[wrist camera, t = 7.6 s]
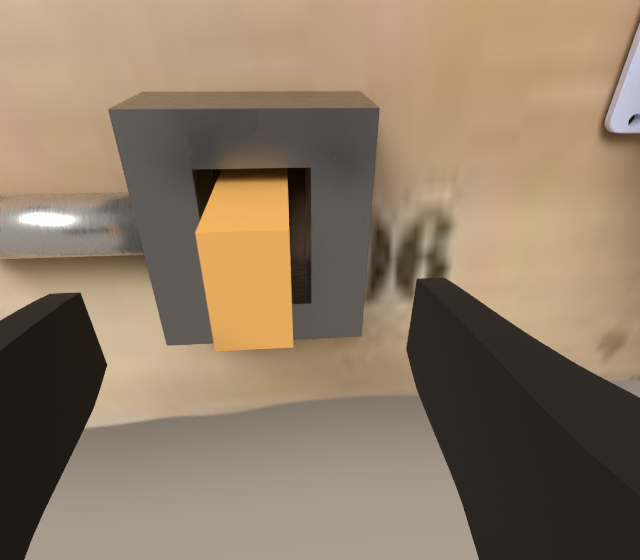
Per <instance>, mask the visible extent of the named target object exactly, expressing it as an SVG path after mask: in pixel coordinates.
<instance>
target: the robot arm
mask: <svg viewBox="0 0 640 560" xmlns="http://www.w3.org/2000/svg"><path fill="white" fill-rule="evenodd" d="M633 115H635V116H634V119H633V121H632V122H631V123H630V124H629V125H628V121H629V119H630V118H631V117H632V116H633ZM605 128H606V129H607V130H608V131H610V132H613V133H640V24H639V26H638V29H637V32H636V35H635V38H634V40H633V43H632V46H631V49H630V52H629V54H628V57H627V60H626V63H625V66H624V68H623V71H622V74H621V77H620V79H619V82H618V85H617V88H616V91H615V93H614V96H613V99H612V102H611V105H610V107H609V110H608V113H607V116H606V119H605ZM406 349H407V353H408V358H409V362H410V366H411V370H412V373H413V377H414V381H415V384H416V388H417V391H418V393H419V396H420V398H421V401H422V403H423V406H424V408H425V411H426V413H427V416H428V418H429V421H430V423H431V426H432V428H433V431H434V433H435V436H436V438H437V440H438V443H439V445H440V448H441V450H442V452H443V455H444V457H445V460H446V462H447V465H448V467H449V470H450V472H451V474H452V477H453V480H454V482H455V485H456V488H457V490H458V493H459V496H460V499H461V501H462V504H463V507H464V511H465V514H466V517H467V520H468V524H469V527H470V531H471V534H472V537H473V540H474V544H475V547H476V551H477V554H478V557H479V560H640V398H639V397H637V396H635V395H633V394H632V393H630V392H628V391H626V390H624V389H622V388H620V387H618V386H616V385H614V384H613V383H611V382H609V381H607V380H605V379H603V378H601V377H599V376H597V375H595V374H593V373H592V372H590V371H588V370H586V369H585V368H583V367H581V366H579V365H577V364H576V363H574V362H572V361H571V360H569V359H567V358H566V357H564V356H562V355H561V354H559V353H557V352H556V351H554V350H552V349H551V348H549V347H548V346H546V345H544V344H543V343H541V342H539V341H538V340H536V339H535V338H533V337H532V336H530V335H528V334H527V333H525V332H524V331H522V330H521V329H519V328H518V327H516V326H515V325H513V324H512V323H510V322H509V321H507V320H506V319H504V318H503V317H501V316H500V315H499V314H497V313H496V312H494V311H493V310H491V309H490V308H488V307H487V306H486V305H484V304H483V303H481V302H480V301H478V300H477V299H476V298H474V297H473V296H471V295H470V294H468V293H467V292H465V291H464V290H463V289H461V288H460V287H458V286H457V285H455V284H454V283H452V282H450V281H449V280H447V279H445V278H425V279H417V282H416V289H415V296H414V302H413V309H412V315H411V322H410V329H409V335H408V342H407V348H406ZM106 367H107V363H106V360H105V358H104V355H103V352H102V350H101V347H100V344H99V342H98V339H97V336H96V334H95V331H94V328H93V325H92V323H91V320H90V317H89V315H88V312H87V309H86V307H85V304H84V301H83V298H82V296H81V293H59V294H49V295H47V296H45V297H42V298H40V299H38V300H36V301H34V302H32V303H31V304H29V305H27V306H25V307H23V308H21V309H20V310H18V311H16V312H14V313H13V314H11V315H9V316H7V317H6V318H4V319H2V320H1V321H0V560H24V559H25V555H26V553H27V550H28V548H29V545H30V542H31V540H32V537H33V535H34V532H35V530H36V528H37V526H38V524H39V521H40V519H41V517H42V515H43V512H44V510H45V508H46V506H47V504H48V502H49V500H50V498H51V496H52V494H53V492H54V490H55V487H56V485H57V483H58V481H59V479H60V477H61V475H62V473H63V471H64V469H65V467H66V465H67V463H68V461H69V459H70V456H71V455H72V453H73V451H74V448H75V446H76V444H77V442H78V440H79V438H80V436H81V434H82V432H83V430H84V428H85V425H86V423H87V421H88V419H89V417H90V415H91V413H92V410H93V408H94V405H95V402H96V399H97V396H98V394H99V391H100V387H101V384H102V381H103V377H104V374H105V371H106Z"/></svg>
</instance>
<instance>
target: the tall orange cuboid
mask: <svg viewBox="0 0 640 560" xmlns="http://www.w3.org/2000/svg"><path fill="white" fill-rule="evenodd" d="M195 235H196V241H197V246H198V252H199V258H200V264H201V270H202V276H203V282H204V288H205V294H206V300H207V306H208V312H209V318H210V324H211V330H212V336H213V342H214V348H215V351H230V350H252V349H273V348H293V322H292V293H291V263H290V234H289V207H288V179H287V168H250V169H221V172H220V174H219V177H218V179H217V181H216V184H215V186H214V189H213V191H212V193H211V196H210V198H209V201H208V203H207V205H206V208H205V210H204V213H203V215H202V217H201V220H200V222H199V225H198V227H197V229H196V232H195Z"/></svg>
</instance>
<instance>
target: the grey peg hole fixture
mask: <svg viewBox="0 0 640 560" xmlns="http://www.w3.org/2000/svg"><path fill="white" fill-rule="evenodd" d="M108 110H109V114H110V118H111V123H112V127H113V131H114V135H115V139H116V143H117V147H118V151H119V155H120V159H121V163H122V167H123V171H124V175H125V179H126V183H127V187H128V191H129V193H80V194H30V195H0V259H21V258H53V257H86V256H118V255H145V259H146V263H147V267H148V272H149V276H150V280H151V284H152V288H153V292H154V296H155V300H156V304H157V308H158V312H159V316H160V320H161V324H162V328H163V332H164V336H165V340H166V344H167V345H189V344H210V343H214V342H213V336H212V330H211V324H210V318H209V312H208V306H207V300H206V294H205V288H204V282H203V276H202V270H201V264H200V258H199V252H198V246H197V241H196V235H195V232H196V229H197V227H198V225H199V222H200V220H201V217H202V215H203V213H204V210H205V208H206V205H207V203H208V201H209V198H210V196H211V193H212V191H213V189H214V184H213V176H212V169H250V168H306V252H307V260H296V261H290V263H291V293H292V322H293V340H295V339H316V338H337V337H358V336H361V333H362V321H363V308H364V296H365V283H366V271H367V258H368V246H369V233H370V221H371V208H372V196H373V183H374V171H375V158H376V146H377V133H378V121H379V107H378V106H377V105H376V104H374V103H373V102H372V101H371V100H370V99H369V98H367V97H366V96H365V95H364V94H363V93H362V92H142V93H140V94H138V95H136V96H134V97H132V98H130V99H128V100H126V101H124V102H122V103H120V104H118V105H116V106H114V107H112V108H110V109H108Z"/></svg>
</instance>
